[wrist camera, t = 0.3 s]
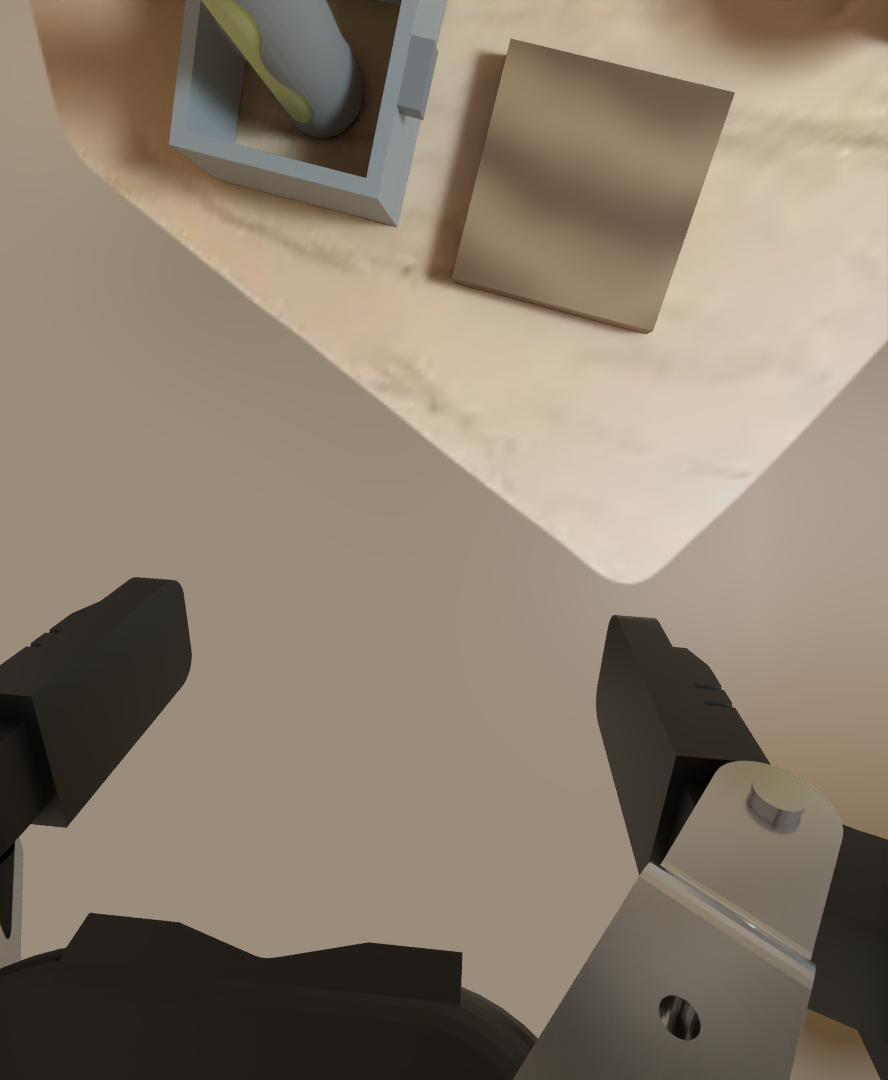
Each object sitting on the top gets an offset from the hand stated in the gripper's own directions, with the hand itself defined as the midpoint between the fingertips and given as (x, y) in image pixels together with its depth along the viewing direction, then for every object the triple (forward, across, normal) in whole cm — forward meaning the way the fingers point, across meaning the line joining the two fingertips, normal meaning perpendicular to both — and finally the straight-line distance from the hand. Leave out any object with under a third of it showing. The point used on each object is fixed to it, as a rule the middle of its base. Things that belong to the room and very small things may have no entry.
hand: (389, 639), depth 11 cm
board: (+29, -6, -12) cm, 32 cm away
